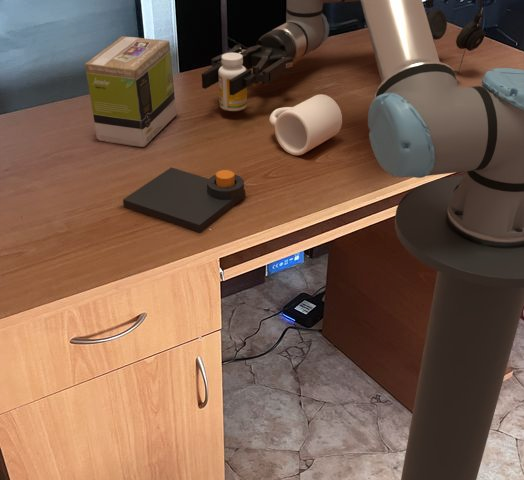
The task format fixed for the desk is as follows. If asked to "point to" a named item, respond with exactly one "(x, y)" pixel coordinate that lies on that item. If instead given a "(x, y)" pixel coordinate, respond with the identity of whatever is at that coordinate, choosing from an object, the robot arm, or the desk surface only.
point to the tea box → (131, 90)
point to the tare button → (225, 178)
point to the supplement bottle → (226, 73)
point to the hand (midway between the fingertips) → (217, 84)
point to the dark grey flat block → (185, 199)
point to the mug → (306, 124)
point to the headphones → (469, 34)
